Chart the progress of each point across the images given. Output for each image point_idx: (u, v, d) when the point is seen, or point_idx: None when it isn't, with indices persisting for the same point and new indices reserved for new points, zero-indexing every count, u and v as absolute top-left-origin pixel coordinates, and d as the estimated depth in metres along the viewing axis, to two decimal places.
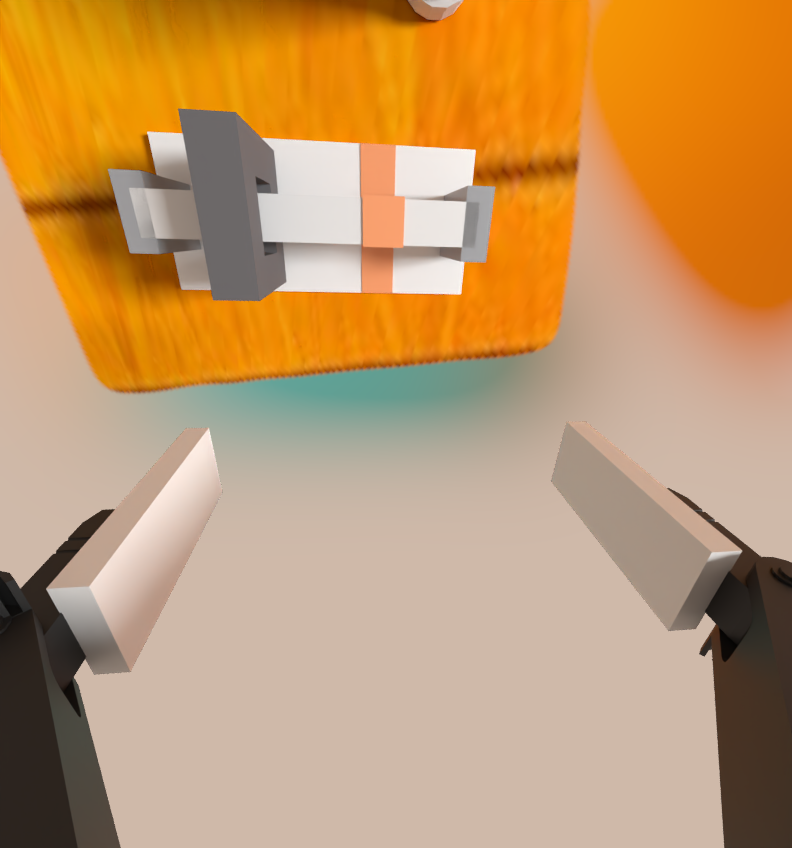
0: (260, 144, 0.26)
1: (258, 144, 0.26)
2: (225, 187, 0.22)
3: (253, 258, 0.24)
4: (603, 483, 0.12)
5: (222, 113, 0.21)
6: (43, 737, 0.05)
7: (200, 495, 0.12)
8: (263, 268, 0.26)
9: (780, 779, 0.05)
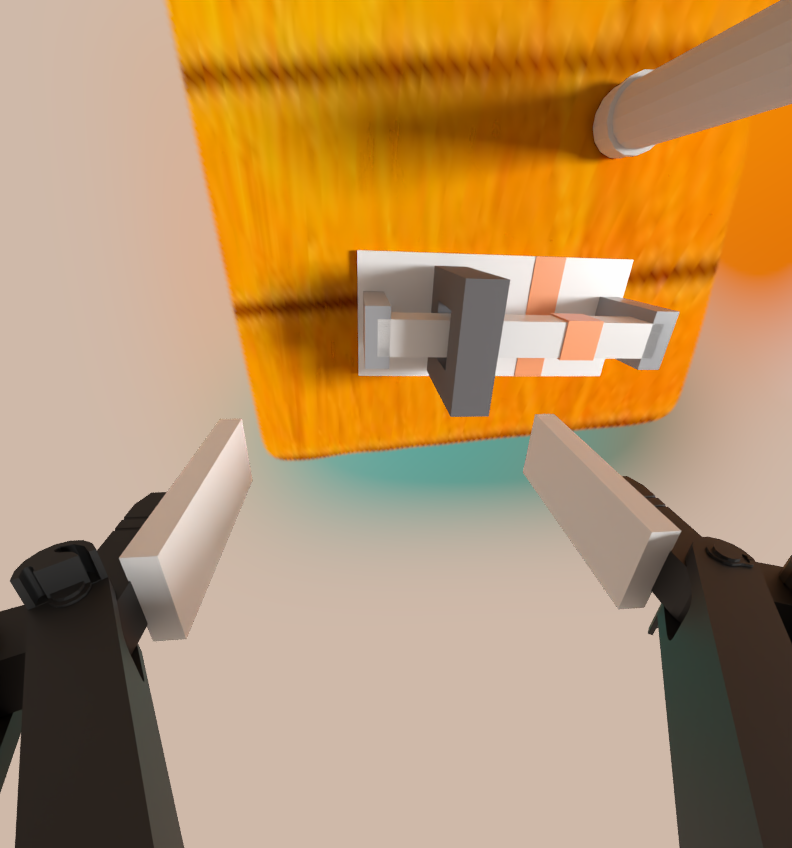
0: None
1: None
2: (486, 333, 0.26)
3: (492, 384, 0.28)
4: (565, 472, 0.13)
5: (500, 280, 0.25)
6: (117, 695, 0.06)
7: (235, 482, 0.13)
8: None
9: (722, 753, 0.06)
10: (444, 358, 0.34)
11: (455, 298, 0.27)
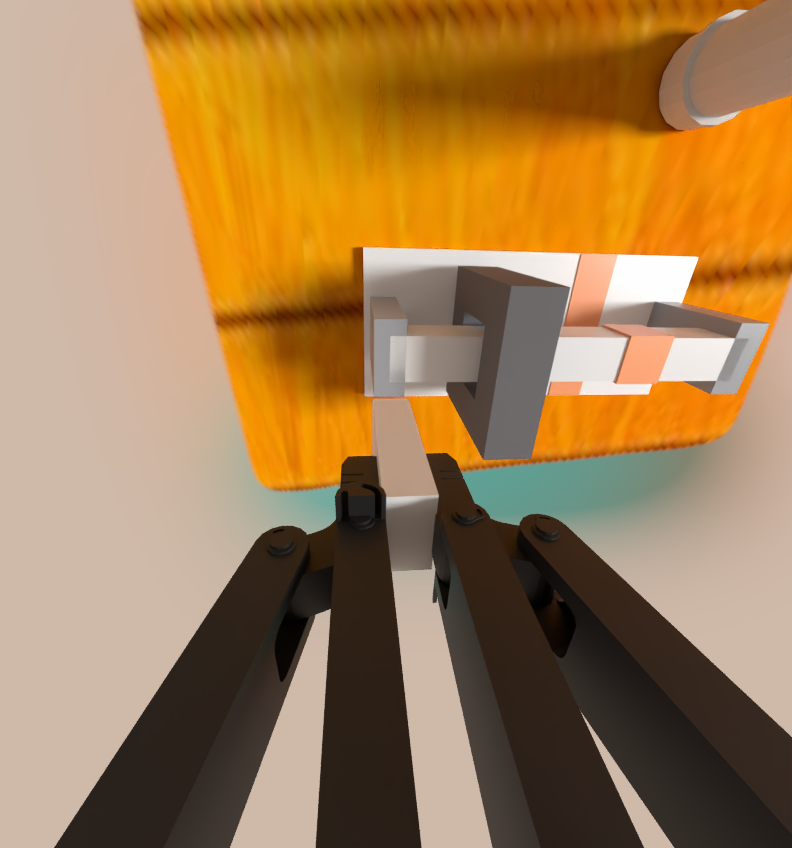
0: None
1: None
2: (534, 357, 0.20)
3: (538, 420, 0.22)
4: None
5: (556, 289, 0.18)
6: (390, 617, 0.07)
7: None
8: None
9: (493, 725, 0.06)
10: None
11: (492, 310, 0.21)
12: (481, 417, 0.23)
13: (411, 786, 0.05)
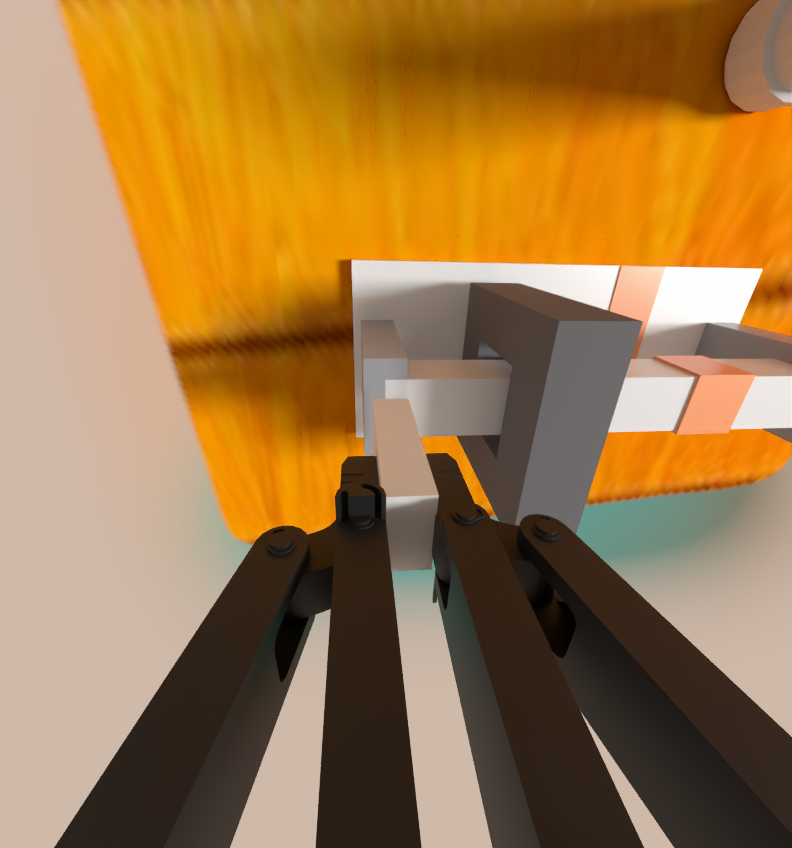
0: None
1: None
2: (585, 416, 0.14)
3: (586, 495, 0.16)
4: None
5: (623, 324, 0.13)
6: (390, 617, 0.07)
7: None
8: None
9: (493, 724, 0.06)
10: None
11: (524, 349, 0.15)
12: (507, 486, 0.17)
13: (411, 786, 0.05)
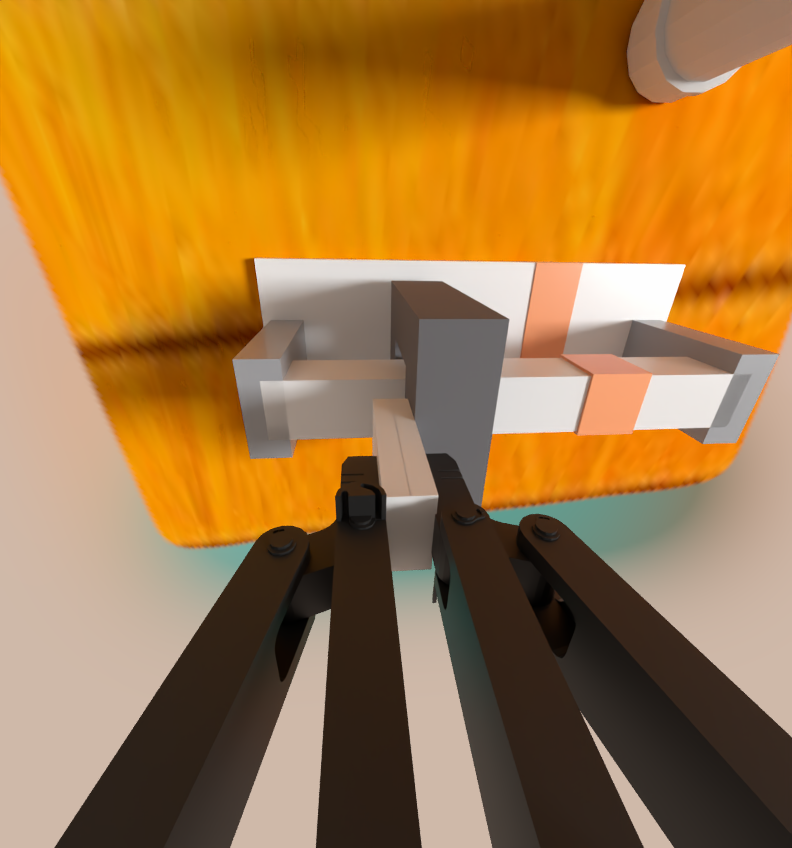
0: None
1: None
2: (465, 417, 0.14)
3: (480, 498, 0.16)
4: None
5: (488, 322, 0.12)
6: (390, 618, 0.07)
7: None
8: None
9: (493, 725, 0.06)
10: None
11: (409, 348, 0.15)
12: None
13: (411, 786, 0.05)
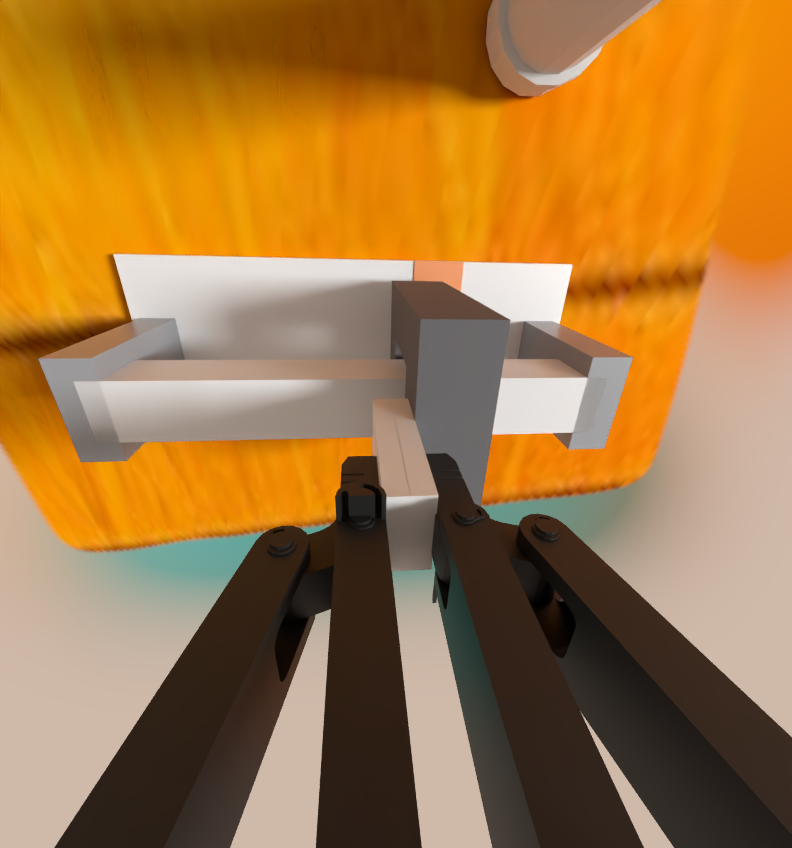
0: None
1: None
2: (465, 417, 0.14)
3: (480, 499, 0.16)
4: None
5: (489, 322, 0.12)
6: (390, 617, 0.07)
7: None
8: None
9: (493, 724, 0.06)
10: None
11: (409, 348, 0.15)
12: None
13: (411, 786, 0.05)
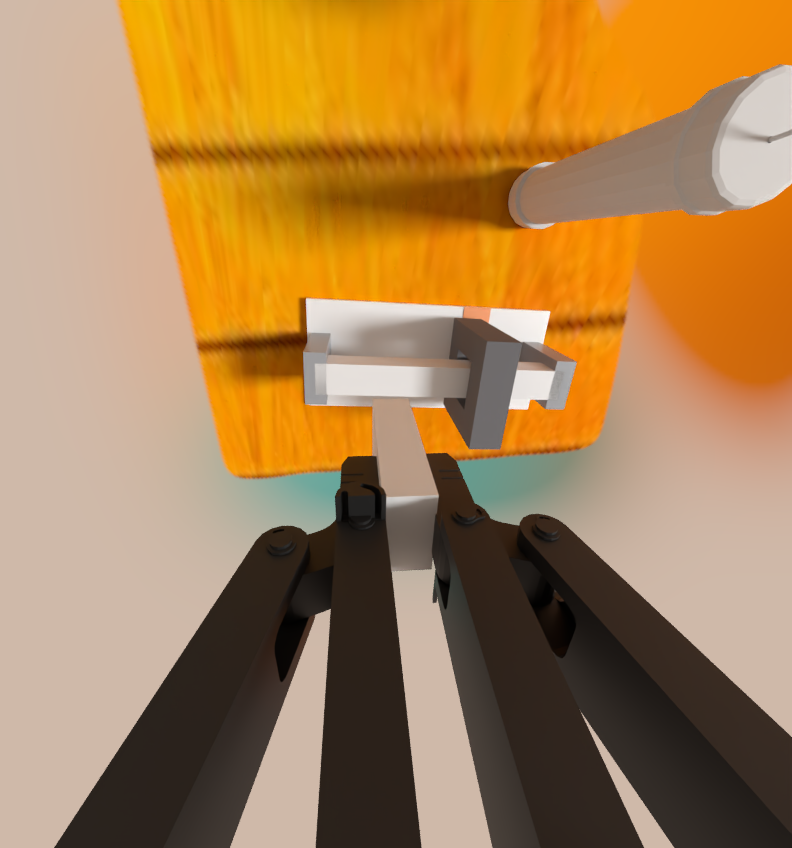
0: None
1: None
2: (501, 383, 0.32)
3: (504, 424, 0.34)
4: None
5: (514, 343, 0.31)
6: (390, 617, 0.07)
7: None
8: None
9: (493, 724, 0.06)
10: None
11: (476, 353, 0.33)
12: (468, 421, 0.35)
13: (411, 786, 0.05)
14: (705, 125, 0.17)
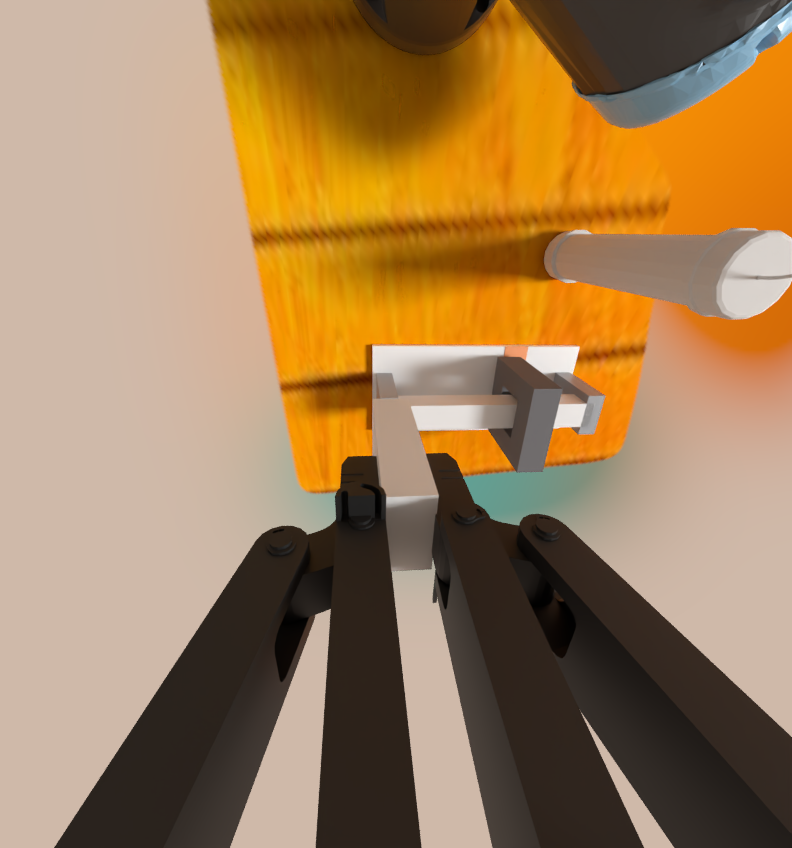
0: None
1: None
2: (545, 420, 0.39)
3: (546, 451, 0.41)
4: None
5: (556, 389, 0.38)
6: (390, 617, 0.07)
7: None
8: None
9: (493, 725, 0.06)
10: None
11: (522, 395, 0.40)
12: (515, 449, 0.42)
13: (411, 786, 0.05)
14: (711, 266, 0.23)
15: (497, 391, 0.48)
